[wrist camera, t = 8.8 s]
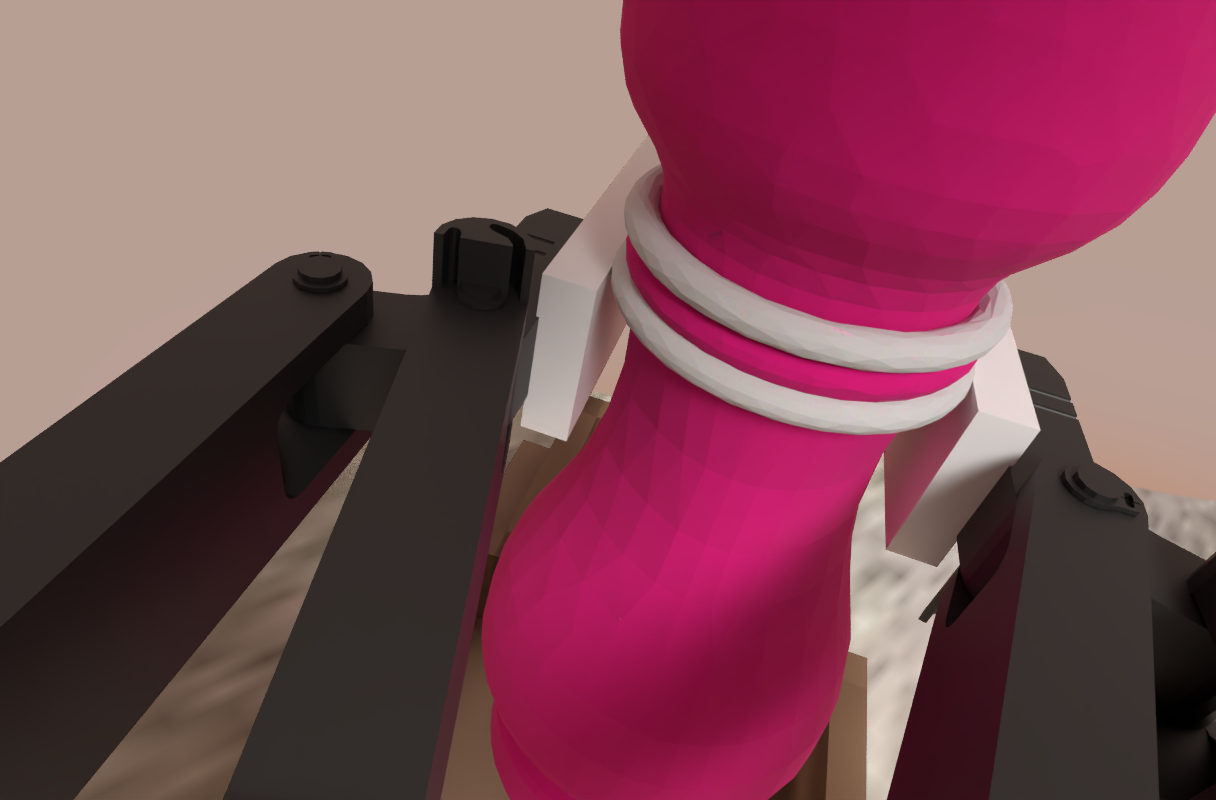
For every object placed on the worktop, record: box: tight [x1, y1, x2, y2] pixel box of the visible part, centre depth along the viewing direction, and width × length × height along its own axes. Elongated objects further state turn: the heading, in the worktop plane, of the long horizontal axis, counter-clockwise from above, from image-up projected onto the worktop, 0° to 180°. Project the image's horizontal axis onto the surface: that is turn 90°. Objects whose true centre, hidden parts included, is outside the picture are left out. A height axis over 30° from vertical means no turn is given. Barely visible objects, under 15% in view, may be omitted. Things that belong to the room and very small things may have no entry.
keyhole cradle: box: [441, 396, 867, 800], centre depth 25 cm, size 16×24×5 cm, turn 164°
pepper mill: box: [481, 0, 1216, 800], centre depth 12 cm, size 7×7×20 cm
